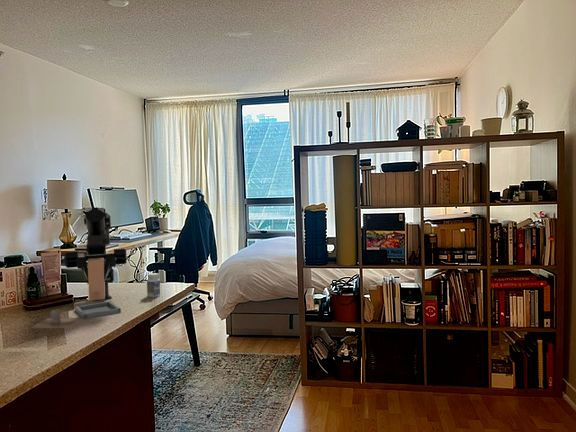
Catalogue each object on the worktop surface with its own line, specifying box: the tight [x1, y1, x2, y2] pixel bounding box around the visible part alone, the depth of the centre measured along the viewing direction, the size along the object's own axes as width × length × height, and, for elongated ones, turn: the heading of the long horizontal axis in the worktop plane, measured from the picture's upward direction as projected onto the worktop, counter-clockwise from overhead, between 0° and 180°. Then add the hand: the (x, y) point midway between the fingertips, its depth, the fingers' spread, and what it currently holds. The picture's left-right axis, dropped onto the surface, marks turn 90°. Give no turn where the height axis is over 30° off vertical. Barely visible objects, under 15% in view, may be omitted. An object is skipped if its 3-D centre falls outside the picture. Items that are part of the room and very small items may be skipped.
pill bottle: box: [146, 272, 161, 298], centre depth 164 cm, size 5×5×8 cm
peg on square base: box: [29, 309, 80, 330], centre depth 129 cm, size 10×10×4 cm
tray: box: [75, 301, 122, 320], centre depth 141 cm, size 12×11×2 cm
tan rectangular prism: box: [87, 258, 106, 301], centre depth 139 cm, size 6×5×13 cm
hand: (96, 279), depth 139 cm, fingers closed on tan rectangular prism, 5 cm apart
